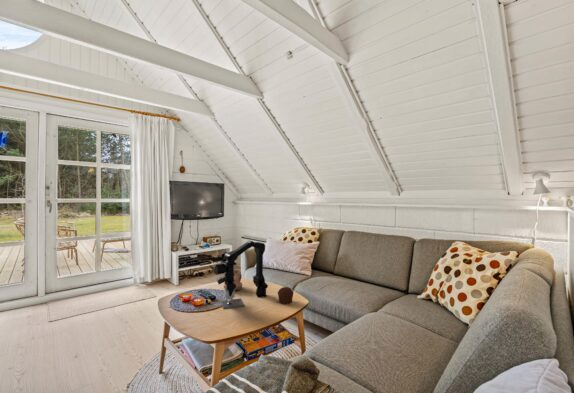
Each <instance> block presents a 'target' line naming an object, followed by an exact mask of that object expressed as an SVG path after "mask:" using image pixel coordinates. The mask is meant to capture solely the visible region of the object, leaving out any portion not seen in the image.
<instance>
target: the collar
mask: <svg viewBox="0 0 574 393" xmlns="http://www.w3.org/2000/svg"><path fill="white" fill-rule="evenodd" d="M235 292H236V291H235V290H234V291H233V293H232V295H231V296H229V292H228V289H226V288H224V298H225V299H228V298H231V299H232V298H236V297H235V294H236V293H235Z"/></svg>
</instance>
